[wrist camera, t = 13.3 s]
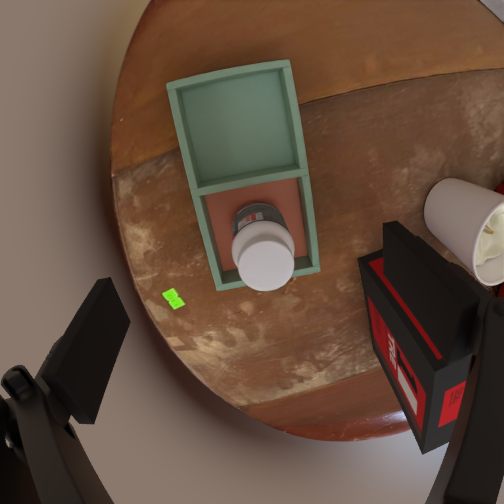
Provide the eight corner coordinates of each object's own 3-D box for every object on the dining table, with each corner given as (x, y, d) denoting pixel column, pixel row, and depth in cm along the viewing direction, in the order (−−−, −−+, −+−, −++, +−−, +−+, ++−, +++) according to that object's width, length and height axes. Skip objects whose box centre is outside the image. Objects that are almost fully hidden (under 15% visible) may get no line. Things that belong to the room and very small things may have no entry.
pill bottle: (221, 215, 35) (217, 255, 26) (267, 189, 34) (280, 220, 25) (248, 256, 37) (253, 306, 28) (292, 232, 36) (312, 276, 27)
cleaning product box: (423, 328, 45) (484, 421, 27) (373, 348, 46) (422, 454, 28) (418, 236, 38) (515, 326, 20) (357, 258, 39) (434, 372, 21)
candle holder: (478, 223, 38) (532, 260, 27) (427, 254, 39) (476, 301, 28) (465, 160, 34) (529, 185, 23) (409, 189, 35) (468, 225, 24)
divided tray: (172, 85, 29) (165, 82, 26) (283, 63, 29) (289, 58, 26) (218, 275, 39) (216, 291, 36) (313, 257, 38) (320, 271, 35)
